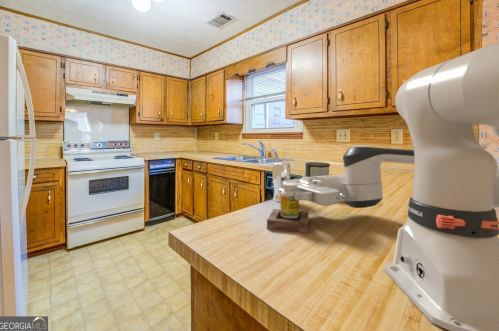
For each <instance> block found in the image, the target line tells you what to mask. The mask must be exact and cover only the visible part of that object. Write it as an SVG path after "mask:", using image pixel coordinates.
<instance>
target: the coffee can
mask: <svg viewBox="0 0 499 331" xmlns="http://www.w3.org/2000/svg"><path fill="white" fill-rule="evenodd" d="M330 165H331V164H330V162H329V163H328V162H319V161H317V162H316V161H315V162H314V161H312V162H310V161H309V162H305V175H304V176H311V177H315V176H326V175H330Z"/></svg>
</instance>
